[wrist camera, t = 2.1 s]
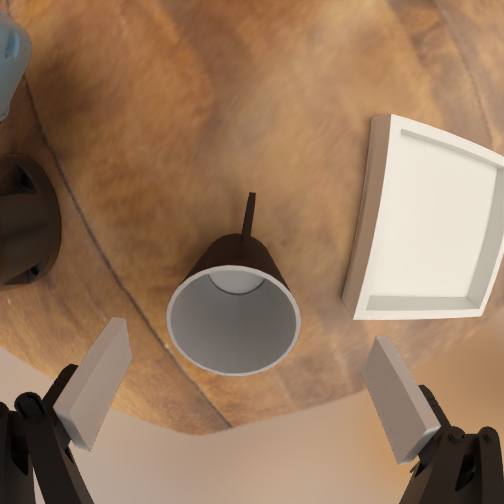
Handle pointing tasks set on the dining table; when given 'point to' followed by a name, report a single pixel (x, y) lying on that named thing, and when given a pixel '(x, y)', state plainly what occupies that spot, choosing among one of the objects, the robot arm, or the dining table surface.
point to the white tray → (425, 225)
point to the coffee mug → (234, 308)
